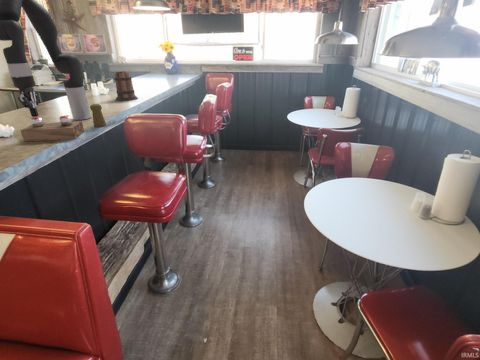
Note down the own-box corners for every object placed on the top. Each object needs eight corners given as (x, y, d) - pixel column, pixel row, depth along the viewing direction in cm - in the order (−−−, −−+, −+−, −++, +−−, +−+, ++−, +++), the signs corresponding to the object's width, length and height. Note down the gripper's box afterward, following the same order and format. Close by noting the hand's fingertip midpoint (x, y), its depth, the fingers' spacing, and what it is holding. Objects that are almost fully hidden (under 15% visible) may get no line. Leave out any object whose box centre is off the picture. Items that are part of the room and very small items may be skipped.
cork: (101, 127, 143) (96, 105, 138) (91, 126, 144) (85, 105, 139) (108, 124, 148) (104, 103, 144) (98, 124, 149) (93, 102, 145)
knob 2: (65, 129, 131) (61, 115, 129) (75, 129, 132) (71, 115, 129) (61, 132, 128) (57, 117, 125) (72, 131, 128) (67, 117, 125)
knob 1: (37, 131, 130) (32, 116, 127) (47, 130, 130) (43, 116, 128) (32, 134, 126) (27, 119, 123) (43, 133, 126) (38, 118, 124)
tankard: (135, 100, 212) (130, 72, 203) (112, 101, 210) (106, 73, 202) (142, 95, 233) (137, 69, 224) (121, 96, 232) (116, 70, 223)
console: (37, 133, 134) (34, 123, 132) (84, 131, 137) (81, 121, 135) (24, 141, 123) (20, 130, 121) (75, 138, 126) (72, 127, 124)
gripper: (20, 73, 123) (33, 113, 130) (2, 77, 111) (18, 120, 119) (38, 73, 124) (51, 112, 131) (23, 76, 112) (37, 119, 120)
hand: (35, 116), depth 125 cm, fingers closed
